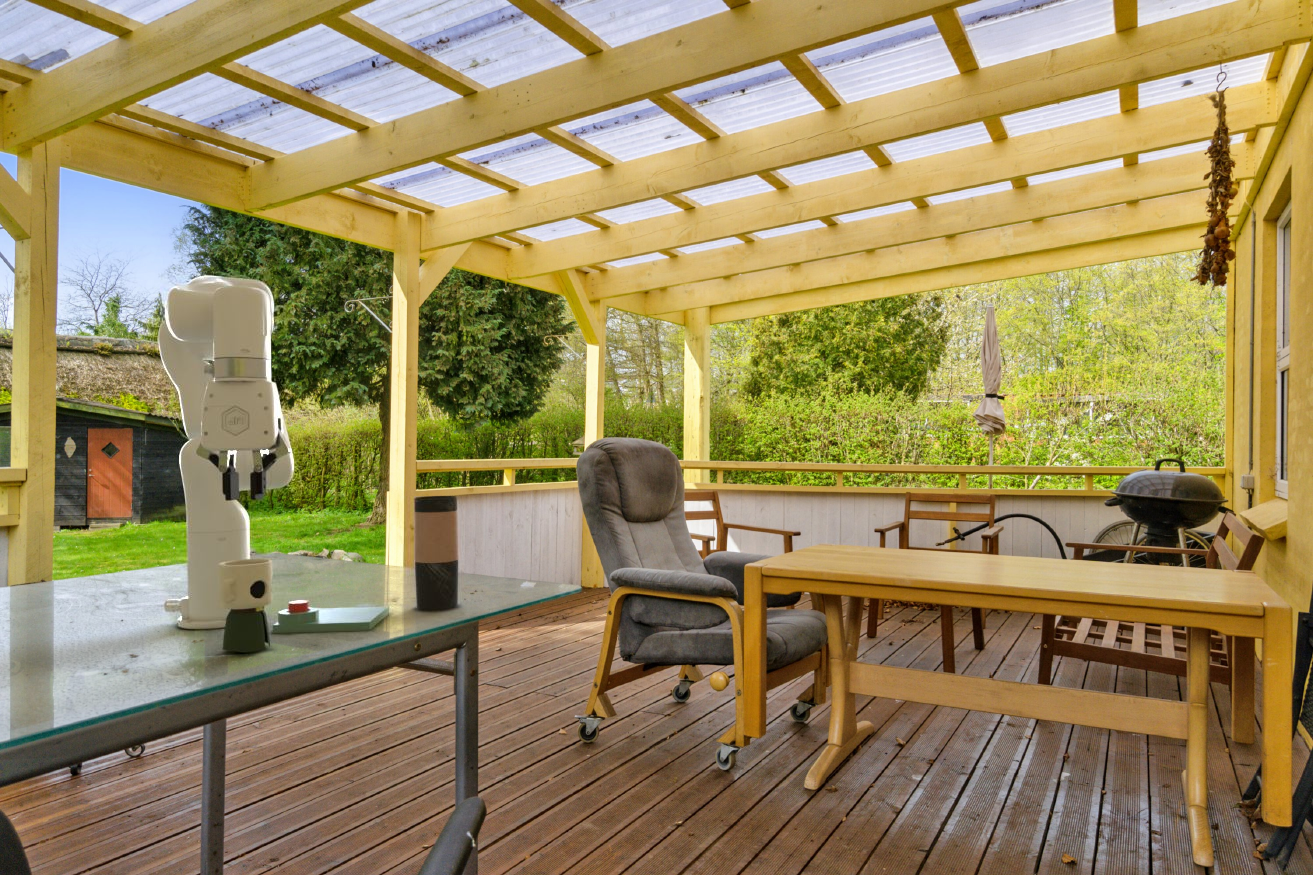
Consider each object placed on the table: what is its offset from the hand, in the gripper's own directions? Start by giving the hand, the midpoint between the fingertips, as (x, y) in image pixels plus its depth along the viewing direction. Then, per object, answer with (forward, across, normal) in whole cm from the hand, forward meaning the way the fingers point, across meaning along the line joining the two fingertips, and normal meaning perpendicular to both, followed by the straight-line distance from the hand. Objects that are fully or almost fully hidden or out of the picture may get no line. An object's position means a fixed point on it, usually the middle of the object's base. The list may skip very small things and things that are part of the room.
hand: (244, 498), depth 124 cm
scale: (+22, +7, +18) cm, 29 cm away
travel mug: (+22, +22, +29) cm, 43 cm away
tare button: (+19, +2, +15) cm, 24 cm away
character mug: (+22, 0, 0) cm, 22 cm away
